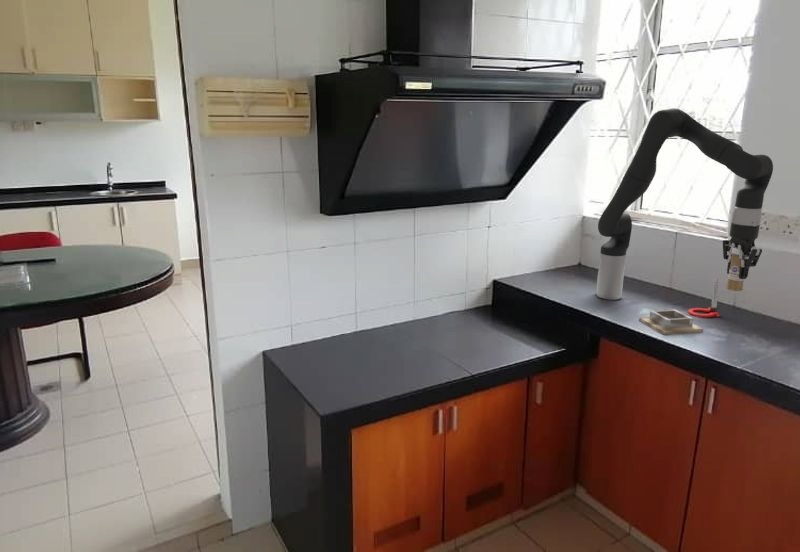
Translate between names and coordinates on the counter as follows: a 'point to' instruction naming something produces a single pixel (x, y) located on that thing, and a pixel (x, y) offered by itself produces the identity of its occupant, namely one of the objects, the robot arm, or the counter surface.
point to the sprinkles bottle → (735, 272)
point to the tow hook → (712, 309)
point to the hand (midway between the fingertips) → (736, 276)
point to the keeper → (670, 322)
